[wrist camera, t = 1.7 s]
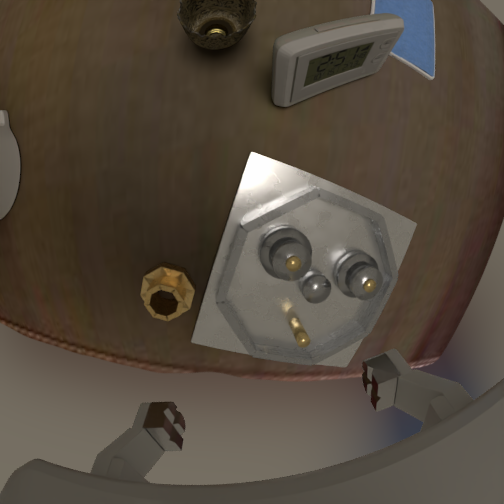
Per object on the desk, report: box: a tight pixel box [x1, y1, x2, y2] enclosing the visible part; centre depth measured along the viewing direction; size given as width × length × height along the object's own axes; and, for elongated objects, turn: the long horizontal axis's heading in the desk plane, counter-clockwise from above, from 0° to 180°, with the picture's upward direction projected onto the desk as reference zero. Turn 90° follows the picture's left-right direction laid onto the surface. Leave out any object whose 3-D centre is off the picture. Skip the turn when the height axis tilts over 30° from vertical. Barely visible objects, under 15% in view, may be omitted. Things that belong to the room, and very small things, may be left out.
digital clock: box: [272, 13, 404, 107], centre depth 22 cm, size 16×9×11 cm, turn 108°
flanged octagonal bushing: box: [140, 262, 196, 321], centre depth 31 cm, size 6×6×4 cm
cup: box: [177, 0, 257, 50], centre depth 21 cm, size 7×7×8 cm
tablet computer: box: [370, 0, 435, 80], centre depth 24 cm, size 19×13×1 cm, turn 167°
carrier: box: [191, 152, 417, 367], centre depth 33 cm, size 25×25×6 cm
